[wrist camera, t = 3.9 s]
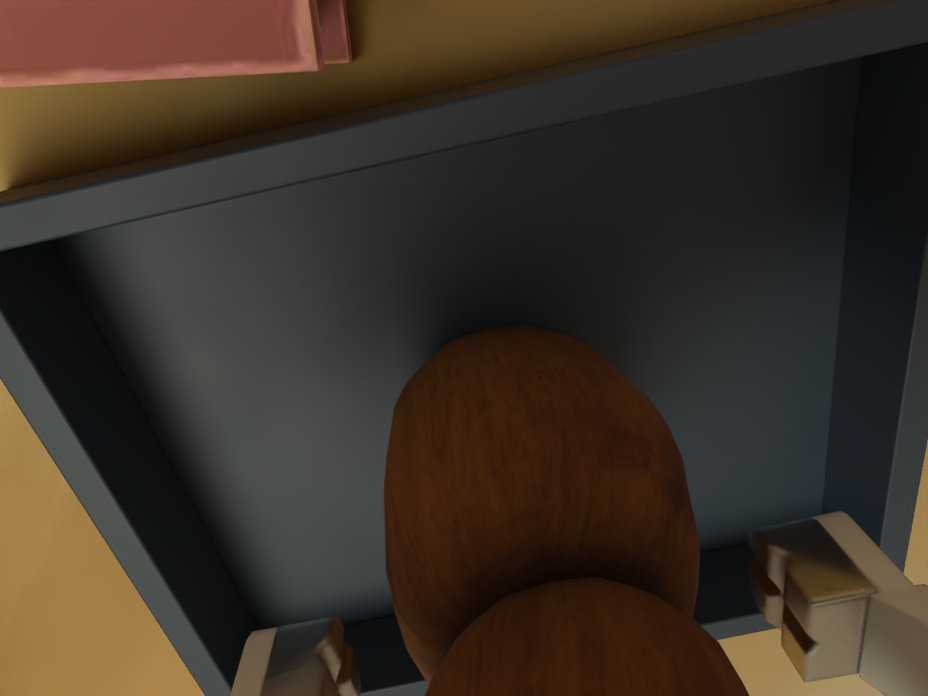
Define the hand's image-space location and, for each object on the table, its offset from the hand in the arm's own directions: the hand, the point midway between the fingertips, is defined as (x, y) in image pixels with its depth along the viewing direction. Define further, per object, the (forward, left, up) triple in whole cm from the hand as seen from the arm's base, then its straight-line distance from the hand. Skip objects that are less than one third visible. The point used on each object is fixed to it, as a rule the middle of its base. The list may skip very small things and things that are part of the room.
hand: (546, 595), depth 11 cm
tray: (0, 0, -7) cm, 7 cm away
